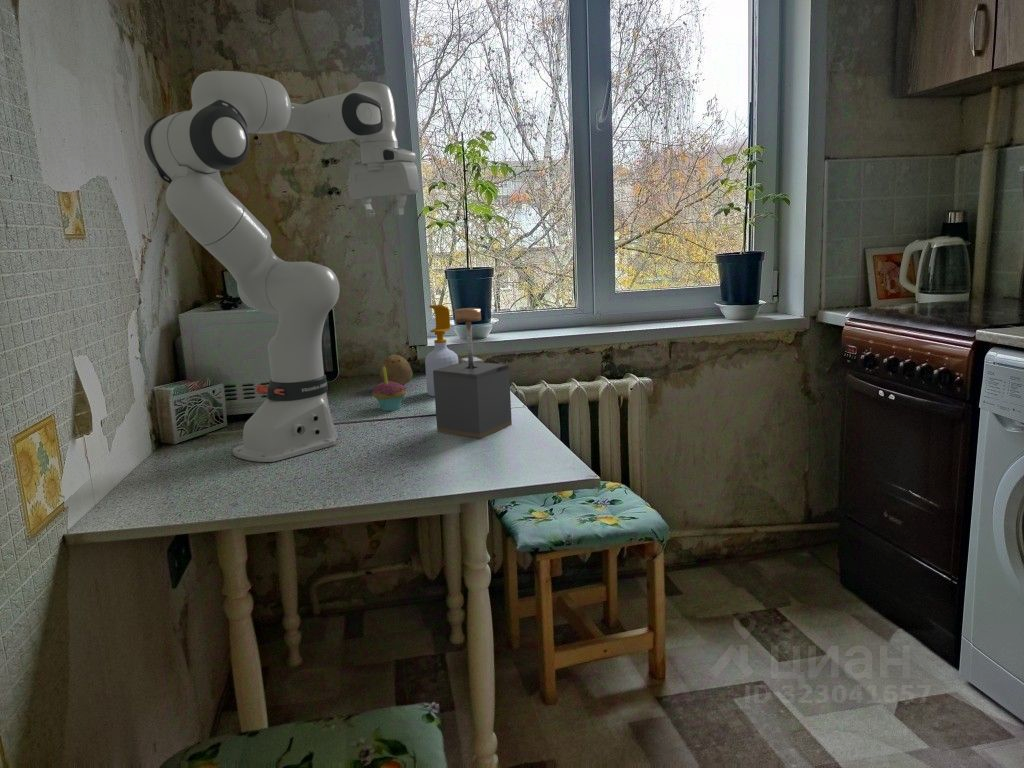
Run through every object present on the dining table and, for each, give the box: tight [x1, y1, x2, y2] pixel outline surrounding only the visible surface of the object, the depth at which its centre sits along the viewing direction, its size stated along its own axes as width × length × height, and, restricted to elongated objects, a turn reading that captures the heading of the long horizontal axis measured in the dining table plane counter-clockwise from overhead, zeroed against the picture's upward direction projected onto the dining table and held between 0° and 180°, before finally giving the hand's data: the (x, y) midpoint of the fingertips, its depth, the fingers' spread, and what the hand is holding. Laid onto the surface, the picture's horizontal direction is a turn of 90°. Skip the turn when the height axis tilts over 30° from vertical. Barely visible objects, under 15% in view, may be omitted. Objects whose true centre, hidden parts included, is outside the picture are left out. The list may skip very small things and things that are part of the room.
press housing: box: [433, 361, 513, 439], centre depth 158 cm, size 12×12×14 cm
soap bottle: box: [424, 304, 459, 398], centre depth 192 cm, size 9×9×25 cm
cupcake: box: [372, 364, 407, 412], centre depth 179 cm, size 9×8×12 cm
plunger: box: [454, 307, 482, 369], centre depth 155 cm, size 10×10×15 cm
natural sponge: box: [379, 354, 414, 387], centre depth 202 cm, size 9×9×10 cm
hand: (384, 216), depth 170 cm, fingers open, 8 cm apart
